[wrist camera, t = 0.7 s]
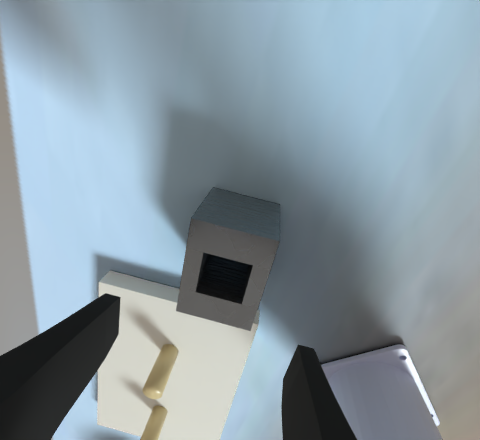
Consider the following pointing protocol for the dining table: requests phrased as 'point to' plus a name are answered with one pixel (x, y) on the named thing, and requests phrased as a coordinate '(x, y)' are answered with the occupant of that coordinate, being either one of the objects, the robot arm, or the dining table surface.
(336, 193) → the dining table surface
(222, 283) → the grey hollow block
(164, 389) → the housing base
